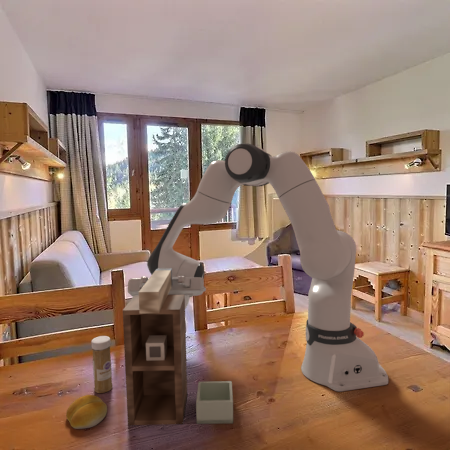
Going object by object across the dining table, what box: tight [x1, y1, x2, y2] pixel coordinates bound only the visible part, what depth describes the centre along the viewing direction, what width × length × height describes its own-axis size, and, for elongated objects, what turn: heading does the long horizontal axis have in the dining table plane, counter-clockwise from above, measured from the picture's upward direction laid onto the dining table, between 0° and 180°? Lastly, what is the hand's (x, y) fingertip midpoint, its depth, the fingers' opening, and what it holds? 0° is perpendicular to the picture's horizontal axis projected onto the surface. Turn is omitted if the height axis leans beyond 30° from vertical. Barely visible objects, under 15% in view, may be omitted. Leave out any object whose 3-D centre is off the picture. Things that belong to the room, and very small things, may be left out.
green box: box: [195, 380, 234, 425], centre depth 79 cm, size 8×8×5 cm
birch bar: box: [139, 268, 173, 314], centre depth 80 cm, size 4×20×4 cm, turn 1°
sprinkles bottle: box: [90, 335, 113, 394], centre depth 88 cm, size 5×5×14 cm
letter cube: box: [146, 335, 167, 361], centre depth 78 cm, size 4×4×4 cm
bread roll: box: [66, 394, 108, 430], centre depth 78 cm, size 8×9×4 cm
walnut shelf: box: [122, 295, 188, 426], centre depth 79 cm, size 12×10×26 cm
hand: (162, 279), depth 86 cm, fingers open, 8 cm apart
